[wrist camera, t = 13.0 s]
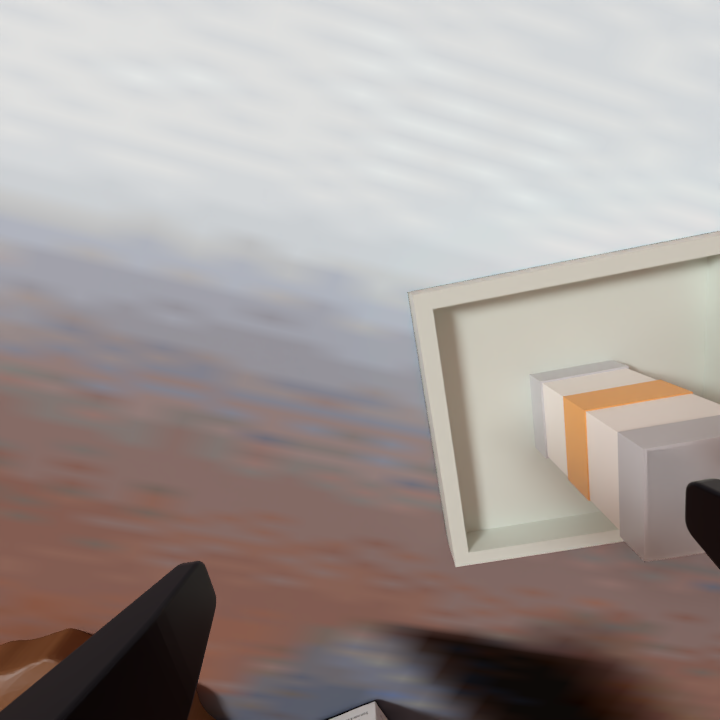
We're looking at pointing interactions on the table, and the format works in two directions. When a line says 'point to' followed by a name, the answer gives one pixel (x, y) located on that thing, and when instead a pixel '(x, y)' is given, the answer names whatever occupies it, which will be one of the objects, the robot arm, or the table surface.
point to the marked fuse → (629, 448)
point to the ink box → (363, 713)
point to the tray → (546, 353)
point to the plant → (48, 665)
